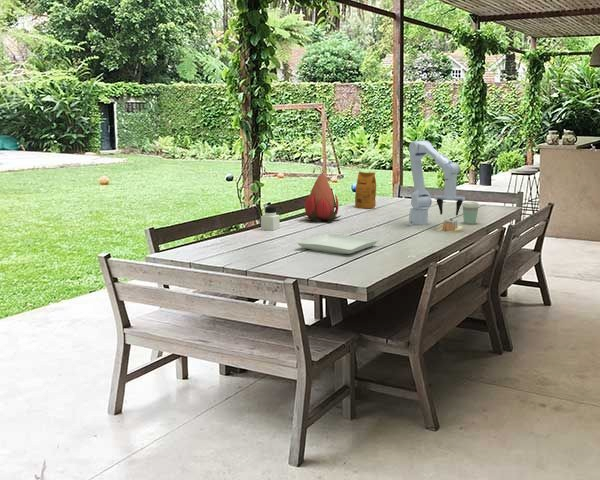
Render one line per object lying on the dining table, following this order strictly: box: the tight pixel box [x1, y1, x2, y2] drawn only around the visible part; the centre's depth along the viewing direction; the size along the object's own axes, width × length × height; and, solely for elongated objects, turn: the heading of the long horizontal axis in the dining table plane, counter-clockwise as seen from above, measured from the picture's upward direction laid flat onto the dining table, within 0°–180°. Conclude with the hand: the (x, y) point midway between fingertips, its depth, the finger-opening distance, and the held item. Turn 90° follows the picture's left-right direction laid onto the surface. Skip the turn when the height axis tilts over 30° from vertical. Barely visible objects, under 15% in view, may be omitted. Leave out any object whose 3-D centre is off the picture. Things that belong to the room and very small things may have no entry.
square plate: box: [297, 233, 379, 255], centre depth 311 cm, size 27×27×4 cm
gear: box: [444, 217, 458, 228], centre depth 356 cm, size 6×6×4 cm
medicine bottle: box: [260, 204, 281, 232], centre depth 354 cm, size 7×7×12 cm
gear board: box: [435, 224, 464, 233], centre depth 354 cm, size 11×18×4 cm, turn 159°
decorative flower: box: [303, 164, 342, 223], centre depth 380 cm, size 22×23×30 cm
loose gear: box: [442, 222, 455, 232], centre depth 349 cm, size 6×6×4 cm
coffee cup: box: [461, 201, 480, 226], centre depth 367 cm, size 9×8×12 cm
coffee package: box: [354, 171, 377, 210], centre depth 426 cm, size 10×12×22 cm
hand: (449, 214), depth 348 cm, fingers open, 7 cm apart
